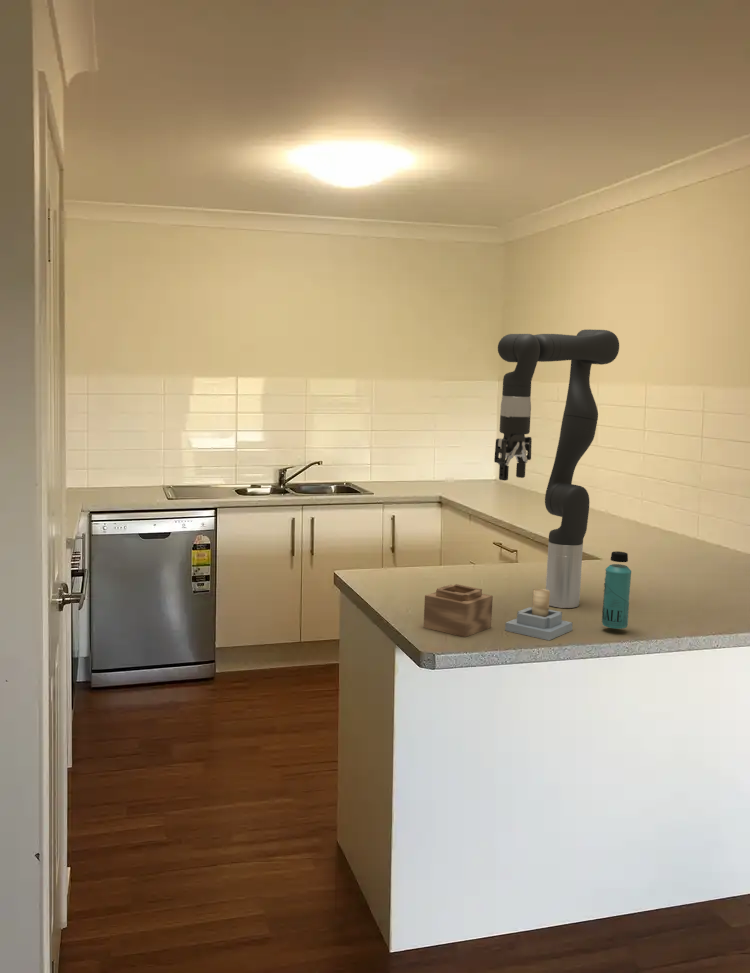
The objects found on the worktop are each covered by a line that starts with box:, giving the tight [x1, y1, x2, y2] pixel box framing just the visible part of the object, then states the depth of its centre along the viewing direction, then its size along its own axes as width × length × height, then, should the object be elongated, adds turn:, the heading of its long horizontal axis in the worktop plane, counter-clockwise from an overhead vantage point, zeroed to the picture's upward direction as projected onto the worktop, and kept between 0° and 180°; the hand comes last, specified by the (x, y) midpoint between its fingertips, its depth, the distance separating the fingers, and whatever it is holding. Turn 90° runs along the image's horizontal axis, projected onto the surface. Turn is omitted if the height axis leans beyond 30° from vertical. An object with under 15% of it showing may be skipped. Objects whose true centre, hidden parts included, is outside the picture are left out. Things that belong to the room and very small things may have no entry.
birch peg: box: [531, 588, 550, 617], centre depth 235 cm, size 4×4×8 cm
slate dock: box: [504, 606, 573, 641], centre depth 235 cm, size 12×12×4 cm
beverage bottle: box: [601, 550, 632, 630], centre depth 236 cm, size 6×7×20 cm
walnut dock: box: [423, 583, 494, 638], centre depth 235 cm, size 12×12×10 cm
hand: (512, 478), depth 241 cm, fingers open, 8 cm apart
